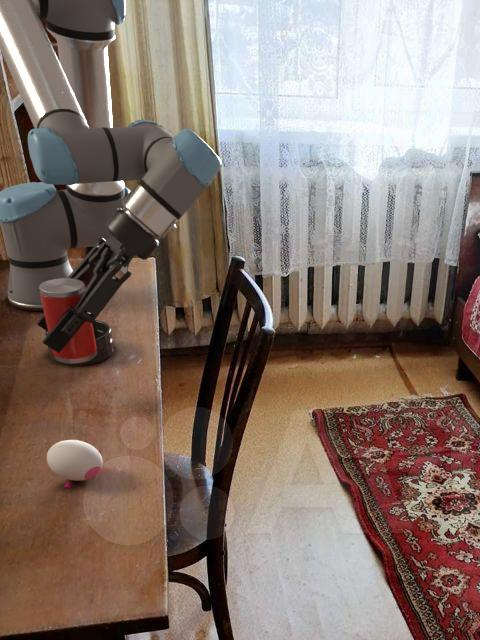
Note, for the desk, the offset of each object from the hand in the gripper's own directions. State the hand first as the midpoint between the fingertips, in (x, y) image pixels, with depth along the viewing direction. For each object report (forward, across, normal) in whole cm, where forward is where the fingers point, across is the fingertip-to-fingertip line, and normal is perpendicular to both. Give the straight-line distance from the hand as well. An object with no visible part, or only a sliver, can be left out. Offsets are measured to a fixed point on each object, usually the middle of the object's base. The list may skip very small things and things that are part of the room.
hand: (47, 337), depth 103 cm
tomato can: (0, 0, -5) cm, 5 cm away
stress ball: (+9, -22, -8) cm, 25 cm away
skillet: (+4, +19, -13) cm, 23 cm away
